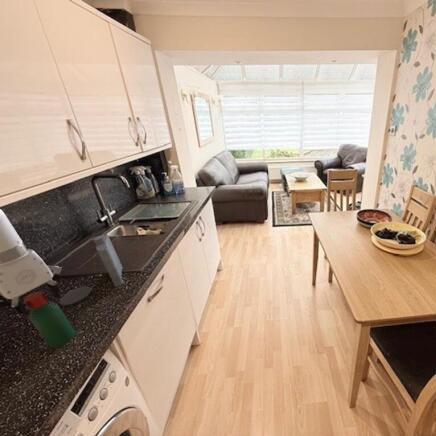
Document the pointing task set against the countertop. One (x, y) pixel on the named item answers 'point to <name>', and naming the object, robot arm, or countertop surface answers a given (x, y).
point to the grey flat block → (109, 258)
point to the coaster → (75, 296)
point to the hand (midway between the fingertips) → (41, 304)
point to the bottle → (52, 324)
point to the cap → (35, 300)
